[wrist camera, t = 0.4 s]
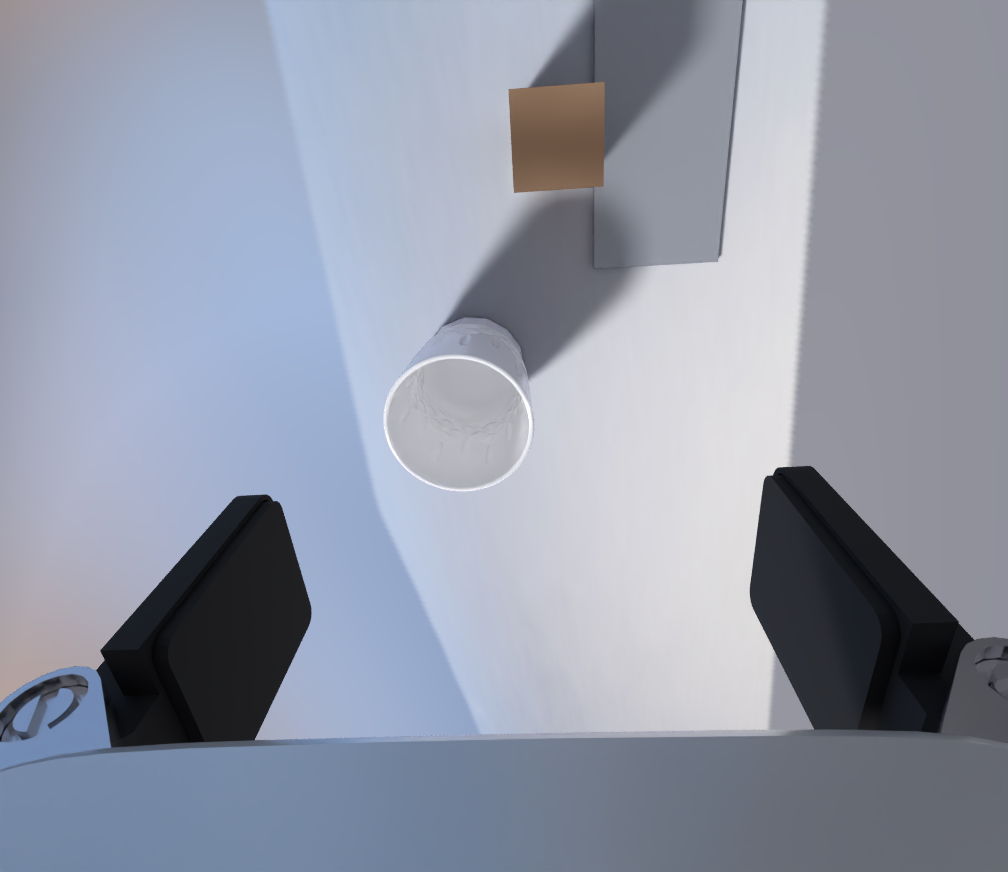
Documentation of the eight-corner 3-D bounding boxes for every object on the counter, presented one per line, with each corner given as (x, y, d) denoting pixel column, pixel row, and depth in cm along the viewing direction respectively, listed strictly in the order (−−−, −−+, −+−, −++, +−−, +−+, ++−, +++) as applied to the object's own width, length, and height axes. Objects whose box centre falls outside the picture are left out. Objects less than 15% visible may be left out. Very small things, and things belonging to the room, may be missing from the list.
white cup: (466, 281, 36) (446, 321, 27) (556, 360, 38) (565, 422, 29) (393, 369, 39) (353, 431, 30) (481, 438, 41) (468, 516, 32)
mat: (594, -10, 29) (595, -12, 29) (742, -23, 29) (745, -25, 29) (593, 267, 36) (594, 268, 35) (715, 260, 35) (717, 261, 35)
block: (513, 108, 32) (508, 89, 24) (585, 102, 32) (604, 81, 24) (517, 185, 34) (513, 192, 26) (585, 180, 33) (603, 186, 25)
